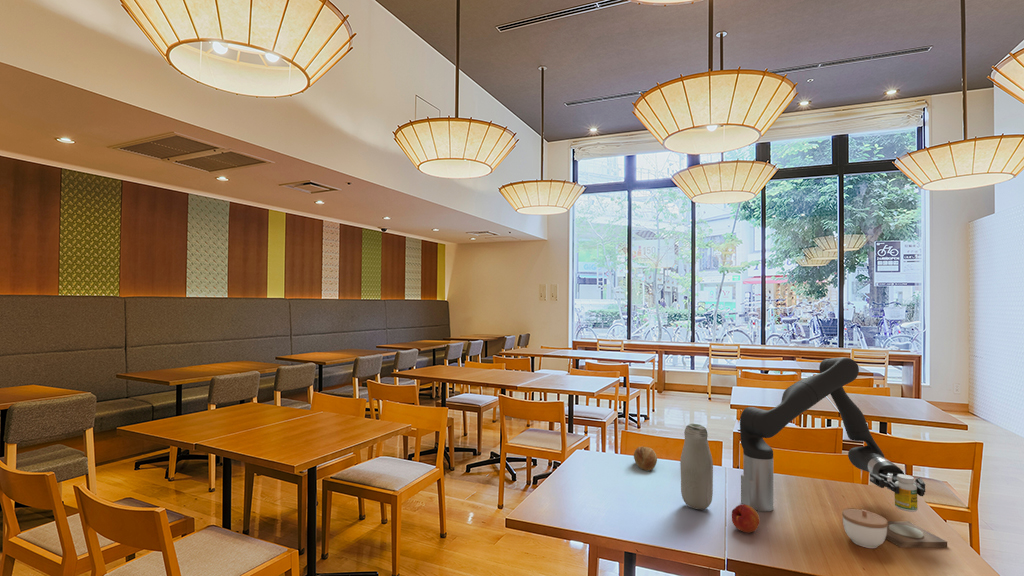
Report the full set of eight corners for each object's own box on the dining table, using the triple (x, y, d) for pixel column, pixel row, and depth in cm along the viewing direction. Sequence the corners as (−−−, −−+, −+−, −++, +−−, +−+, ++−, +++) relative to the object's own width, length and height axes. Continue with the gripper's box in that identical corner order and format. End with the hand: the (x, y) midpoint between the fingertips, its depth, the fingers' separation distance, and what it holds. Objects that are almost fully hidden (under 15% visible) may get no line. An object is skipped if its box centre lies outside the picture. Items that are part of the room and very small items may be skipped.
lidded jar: (833, 534, 145) (833, 503, 146) (866, 533, 146) (866, 502, 146) (862, 553, 135) (862, 519, 135) (897, 552, 135) (897, 518, 136)
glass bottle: (716, 507, 164) (716, 424, 165) (705, 516, 156) (705, 430, 157) (688, 498, 171) (688, 419, 172) (675, 507, 163) (676, 424, 164)
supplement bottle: (898, 503, 149) (898, 471, 149) (920, 509, 144) (920, 477, 144) (891, 507, 146) (891, 475, 146) (913, 514, 141) (913, 481, 141)
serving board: (900, 547, 138) (900, 539, 138) (865, 526, 151) (865, 519, 151) (947, 547, 139) (947, 539, 139) (908, 526, 152) (908, 519, 152)
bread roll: (634, 471, 198) (634, 452, 198) (632, 460, 213) (632, 442, 213) (659, 473, 196) (659, 454, 196) (655, 461, 211) (655, 443, 211)
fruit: (726, 524, 151) (726, 499, 151) (752, 525, 151) (752, 499, 151) (737, 537, 143) (737, 509, 143) (765, 537, 143) (765, 510, 143)
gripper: (859, 458, 161) (880, 476, 145) (911, 462, 156) (939, 481, 140) (859, 480, 161) (881, 501, 145) (911, 486, 156) (939, 507, 140)
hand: (909, 491), depth 143 cm, fingers closed on supplement bottle, 5 cm apart
